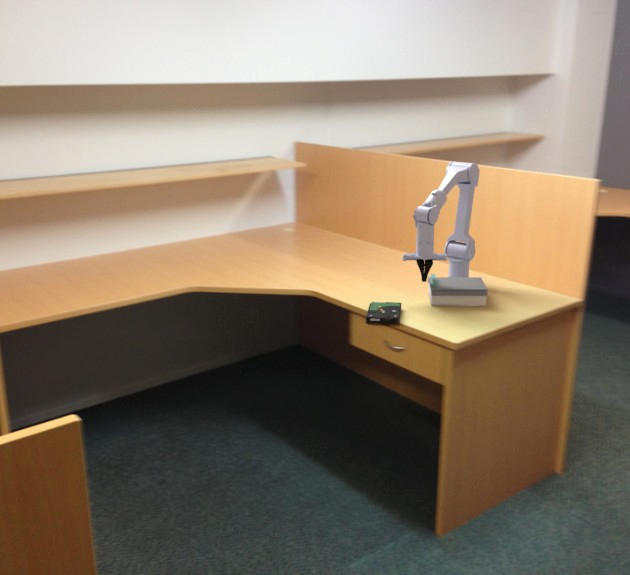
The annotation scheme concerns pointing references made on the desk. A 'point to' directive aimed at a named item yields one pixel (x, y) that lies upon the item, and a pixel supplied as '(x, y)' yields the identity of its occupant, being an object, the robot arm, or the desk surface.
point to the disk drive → (383, 313)
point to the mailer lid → (457, 286)
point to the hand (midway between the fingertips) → (424, 280)
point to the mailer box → (456, 300)
